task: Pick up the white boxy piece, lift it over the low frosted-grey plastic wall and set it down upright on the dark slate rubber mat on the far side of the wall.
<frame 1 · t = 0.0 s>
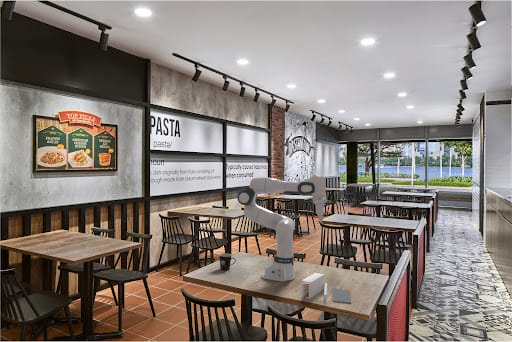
hand: (321, 221, 227), 39 cm above the table, tool pointing down, fingers open, 8 cm apart
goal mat: (341, 296, 201), on the table
coffee mug: (226, 269, 247), on the table
low wall: (325, 294, 203), on the table
white boxy piece: (312, 293, 205), on the table
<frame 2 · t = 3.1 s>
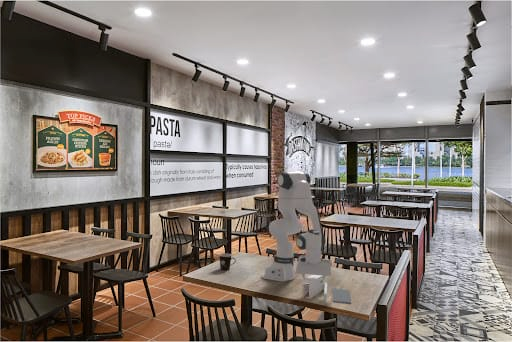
hand: (313, 282, 204), 7 cm above the table, tool pointing down, fingers open, 8 cm apart
nothing on the table moved.
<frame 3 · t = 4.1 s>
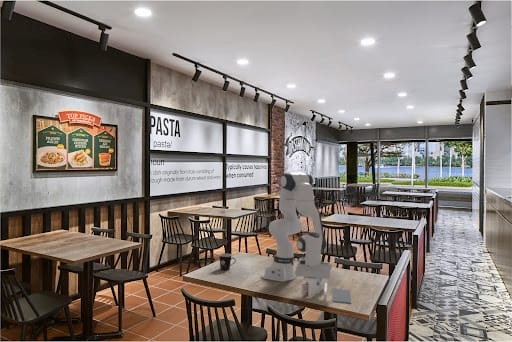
hand: (312, 284, 205), 5 cm above the table, tool pointing down, fingers closed on white boxy piece, 5 cm apart
white boxy piece: (312, 293, 205), on the table, touching gripper
everything else where it was.
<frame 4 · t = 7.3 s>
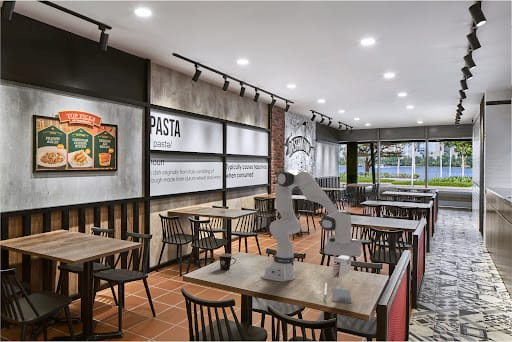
hand: (342, 262, 201), 19 cm above the table, tool pointing down, fingers closed on white boxy piece, 5 cm apart
white boxy piece: (340, 275, 201), point 12 cm above the table, touching gripper
everything else where it was.
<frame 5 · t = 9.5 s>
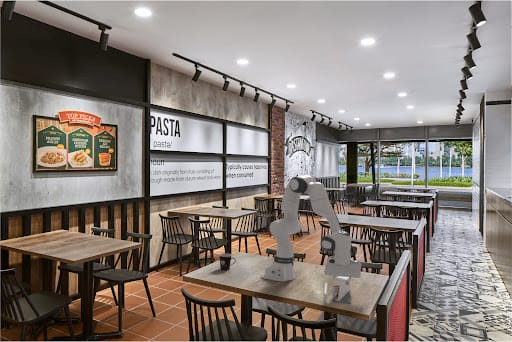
hand: (342, 283, 201), 7 cm above the table, tool pointing down, fingers closed on white boxy piece, 5 cm apart
white boxy piece: (339, 295, 201), point 1 cm above the table, touching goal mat, gripper
everything else where it was.
when the fingers open (7 cm above the table, at t = 10.1 s): white boxy piece stays where it is, resting on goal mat.
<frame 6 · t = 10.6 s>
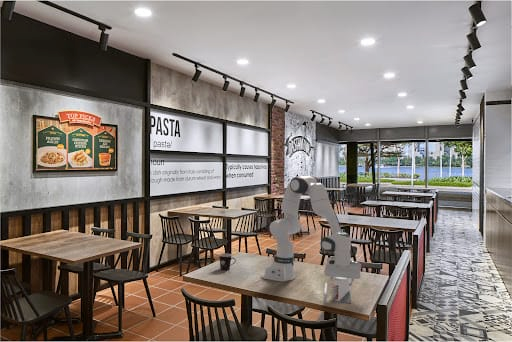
hand: (341, 284, 201), 7 cm above the table, tool pointing down, fingers open, 8 cm apart
white boxy piece: (339, 295, 201), resting on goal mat
everything else where it was.
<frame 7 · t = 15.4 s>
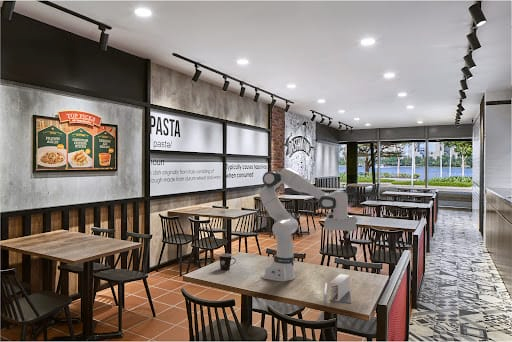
hand: (339, 237, 225), 29 cm above the table, tool pointing down, fingers open, 8 cm apart
nothing on the table moved.
at the end: white boxy piece 1.3 cm off-centre on the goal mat, point 0.4 cm above the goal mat's base; white boxy piece tilted 0°; the gripper is holding nothing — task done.
